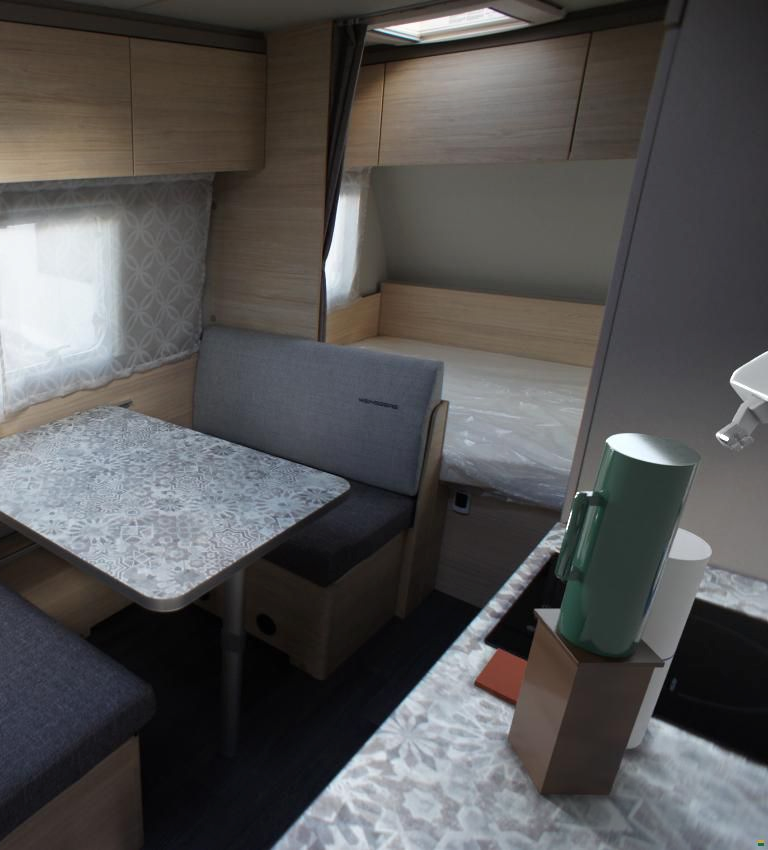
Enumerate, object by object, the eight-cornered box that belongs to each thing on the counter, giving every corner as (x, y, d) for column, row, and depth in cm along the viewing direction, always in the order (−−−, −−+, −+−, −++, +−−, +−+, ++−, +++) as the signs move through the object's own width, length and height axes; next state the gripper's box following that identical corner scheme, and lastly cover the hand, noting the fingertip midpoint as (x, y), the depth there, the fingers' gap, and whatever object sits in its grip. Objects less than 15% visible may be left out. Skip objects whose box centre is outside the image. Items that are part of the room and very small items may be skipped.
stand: (571, 737, 76) (611, 608, 69) (615, 799, 69) (665, 662, 61) (501, 736, 76) (534, 608, 69) (537, 799, 69) (578, 662, 62)
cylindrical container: (644, 760, 73) (717, 568, 63) (567, 733, 76) (625, 547, 66) (639, 715, 78) (705, 532, 68) (568, 692, 82) (621, 514, 72)
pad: (497, 652, 88) (498, 648, 88) (558, 681, 83) (560, 676, 83) (473, 685, 83) (474, 680, 83) (537, 717, 78) (539, 712, 78)
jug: (612, 613, 68) (669, 433, 60) (653, 659, 62) (722, 466, 54) (524, 610, 69) (569, 432, 61) (556, 655, 63) (609, 464, 55)
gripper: (809, 299, 61) (664, 398, 66) (1085, 372, 43) (857, 504, 47) (842, 346, 63) (698, 440, 67) (1123, 436, 44) (898, 558, 49)
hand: (765, 467), depth 57 cm, fingers open, 8 cm apart
